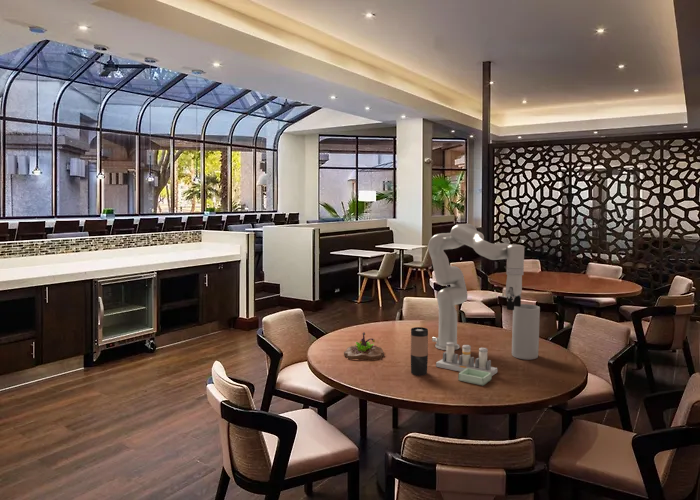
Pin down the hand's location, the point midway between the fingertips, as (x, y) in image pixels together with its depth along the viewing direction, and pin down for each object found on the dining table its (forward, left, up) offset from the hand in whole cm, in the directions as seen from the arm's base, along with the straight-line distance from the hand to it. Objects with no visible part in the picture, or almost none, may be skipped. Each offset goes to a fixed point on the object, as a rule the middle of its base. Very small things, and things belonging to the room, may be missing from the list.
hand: (513, 308), depth 246 cm
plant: (-66, -27, -28) cm, 76 cm away
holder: (-15, -19, -27) cm, 36 cm away
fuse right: (-7, -19, -25) cm, 32 cm away
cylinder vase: (0, +17, -27) cm, 32 cm away
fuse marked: (-15, -19, -25) cm, 35 cm away
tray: (-6, -30, -27) cm, 41 cm away
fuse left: (-23, -19, -25) cm, 39 cm away
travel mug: (-30, -36, -27) cm, 54 cm away
